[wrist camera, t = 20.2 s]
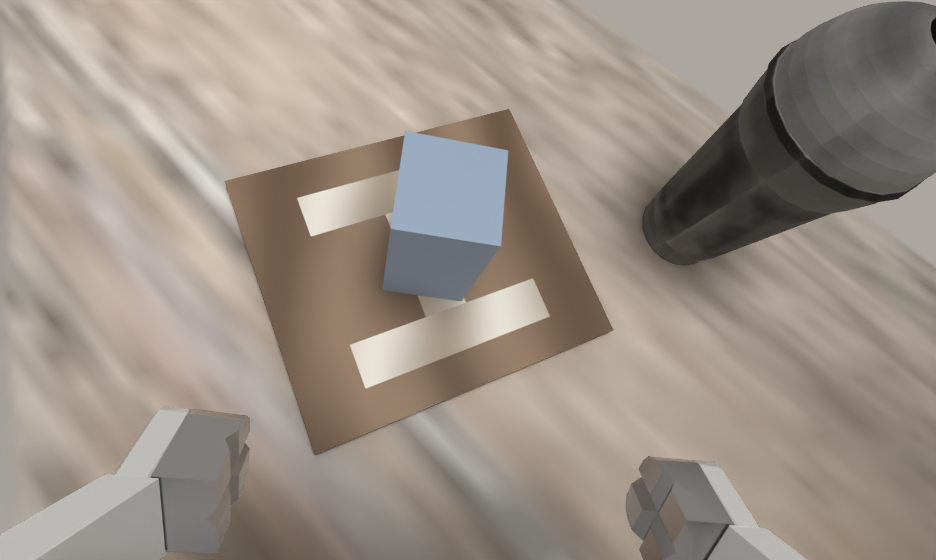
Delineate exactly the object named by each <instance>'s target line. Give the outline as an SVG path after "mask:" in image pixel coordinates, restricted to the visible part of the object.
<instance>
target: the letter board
mask: <svg viewBox="0 0 936 560" xmlns="http://www.w3.org/2000/svg"><path fill="white" fill-rule="evenodd" d="M417 133H419V134H424V135H430V136H435V137H440V138H445V139H451V140H456V141H461V142H466V143H472V144H477V145H482V146H488V147H493V148H498V149H503V150H508V161H507V174H506V187H505V200H504V213H503V226H502V239H501V247H500V248H499V250H498V251H497V253H496V254H495V255H494V257H493V258H492V260H491V261H490V262H489V264H488V265H487V266H486V268H485V269H484V271H483V272H482V273H481V275H480V276H479V278H478V279H477V280H476V282H475V283H474V284H473V286H472V287H471V289H470V290H469V291H468V293H467V294H466V296H465V297H464V298H463V300H462V301H455V300H448V299H441V298H434V297H426V296H419V295H412V294H405V293H398V292H391V291H384V290H382V288H383V281H384V273H385V266H386V258H387V251H388V244H389V236H390V229H391V222H392V216H393V209H394V202H395V195H396V189H397V182H398V175H399V169H400V162H401V155H402V149H403V142H404V136H401V137H397V138H393V139H389V140H385V141H381V142H377V143H373V144H369V145H365V146H361V147H357V148H354V149H350V150H346V151H342V152H338V153H334V154H330V155H326V156H322V157H318V158H314V159H310V160H306V161H302V162H298V163H294V164H290V165H287V166H283V167H279V168H275V169H271V170H267V171H263V172H259V173H255V174H251V175H247V176H243V177H239V178H235V179H231V180H227V181H225V184H226V187H227V190H228V193H229V196H230V199H231V202H232V205H233V208H234V211H235V214H236V217H237V220H238V223H239V226H240V229H241V232H242V235H243V238H244V241H245V244H246V247H247V250H248V253H249V256H250V259H251V262H252V265H253V268H254V272H255V275H256V278H257V281H258V284H259V287H260V290H261V293H262V296H263V299H264V302H265V305H266V308H267V311H268V314H269V317H270V320H271V323H272V326H273V329H274V332H275V335H276V338H277V341H278V344H279V347H280V350H281V353H282V356H283V359H284V362H285V366H286V369H287V372H288V375H289V378H290V381H291V384H292V387H293V390H294V393H295V396H296V399H297V402H298V405H299V408H300V411H301V414H302V417H303V420H304V423H305V426H306V429H307V432H308V435H309V438H310V441H311V444H312V447H313V450H314V453H315V455H316V454H318V453H321V452H323V451H326V450H328V449H330V448H333V447H335V446H338V445H340V444H342V443H345V442H347V441H350V440H352V439H354V438H357V437H359V436H361V435H364V434H366V433H369V432H371V431H373V430H376V429H378V428H381V427H383V426H385V425H388V424H390V423H393V422H395V421H397V420H400V419H402V418H405V417H407V416H409V415H412V414H414V413H417V412H419V411H421V410H424V409H426V408H429V407H431V406H433V405H436V404H438V403H440V402H443V401H445V400H448V399H450V398H452V397H455V396H457V395H460V394H462V393H464V392H467V391H469V390H472V389H474V388H476V387H479V386H481V385H484V384H486V383H488V382H491V381H493V380H496V379H498V378H500V377H503V376H505V375H507V374H510V373H512V372H515V371H517V370H519V369H522V368H524V367H527V366H529V365H531V364H534V363H536V362H539V361H541V360H543V359H546V358H548V357H551V356H553V355H555V354H558V353H560V352H563V351H565V350H567V349H570V348H572V347H575V346H577V345H579V344H582V343H584V342H586V341H589V340H591V339H594V338H596V337H598V336H601V335H603V334H606V333H608V332H610V331H613V328H612V326H611V324H610V322H609V320H608V318H607V316H606V314H605V311H604V309H603V307H602V305H601V303H600V301H599V299H598V297H597V294H596V292H595V290H594V288H593V286H592V284H591V282H590V280H589V277H588V275H587V273H586V271H585V269H584V267H583V265H582V263H581V261H580V258H579V256H578V254H577V252H576V250H575V248H574V246H573V244H572V241H571V239H570V237H569V235H568V233H567V231H566V229H565V227H564V224H563V222H562V220H561V218H560V216H559V214H558V212H557V210H556V208H555V205H554V203H553V201H552V199H551V197H550V195H549V193H548V191H547V188H546V186H545V184H544V182H543V180H542V178H541V176H540V174H539V171H538V169H537V167H536V165H535V163H534V161H533V159H532V157H531V155H530V152H529V150H528V148H527V146H526V144H525V142H524V140H523V138H522V135H521V133H520V131H519V129H518V127H517V125H516V123H515V121H514V118H513V116H512V114H511V112H510V110H509V109H507V110H503V111H499V112H495V113H491V114H487V115H484V116H480V117H476V118H472V119H468V120H464V121H460V122H456V123H452V124H448V125H444V126H440V127H436V128H432V129H428V130H424V131H421V132H417Z"/></svg>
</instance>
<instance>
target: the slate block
mask: <svg viewBox="0 0 936 560" xmlns="http://www.w3.org/2000/svg"><path fill="white" fill-rule="evenodd" d="M507 161H508V150H503V149H498V148H493V147H488V146H482V145H477V144H472V143H466V142H461V141H456V140H451V139H445V138H440V137H435V136H430V135H424V134H419V133H414V132H409V131H405V135H404V142H403V149H402V155H401V162H400V169H399V175H398V182H397V189H396V195H395V202H394V209H393V216H392V222H391V229H390V236H389V244H388V251H387V258H386V266H385V273H384V281H383V288H382V290H384V291H391V292H398V293H405V294H412V295H419V296H426V297H434V298H441V299H448V300H455V301H462V300H463V298H464V297H465V296H466V294H467V293H468V291H469V290H470V289H471V287H472V286H473V284H474V283H475V282H476V280H477V279H478V278H479V276H480V275H481V273H482V272H483V271H484V269H485V268H486V266H487V265H488V264H489V262H490V261H491V260H492V258H493V257H494V255H495V254H496V253H497V251H498V250H499V248H500V247H501V239H502V226H503V213H504V200H505V187H506V174H507Z"/></svg>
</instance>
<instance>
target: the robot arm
mask: <svg viewBox="0 0 936 560" xmlns="http://www.w3.org/2000/svg"><path fill="white" fill-rule="evenodd" d="M249 432H250V418H249V417H248V416H245V415H237V414H229V413H221V412H213V411H205V410H197V409H193V410H192V409H184V408H177V407H169V406H164V407H162V408H161V409H160V410H158V411H157V412H156V414H155V415H154V417H153V418H152V420H151V421H150V423H149V424H148V426H147V427H146V429H145V430H144V431H143V433H142V434H141V436H140V437H139V439H138V440H137V442H136V443H135V445H134V446H133V448H132V449H131V451H130V452H129V454H128V455H127V457H126V458H125V460H124V461H123V463H122V464H121V466H120V467H119V469H118V470H117V471H116V473H115V474H114V475H111V474H104V475H103V476H101V477H99V478H97V479H96V480H94V481H92V482H91V483H89V484H87V485H85V486H84V487H82V488H80V489H78V490H77V491H75V492H73V493H71V494H70V495H68V496H66V497H64V498H63V499H61V500H59V501H57V502H56V503H54V504H52V505H51V506H49V507H47V508H45V509H44V510H42V511H40V512H38V513H37V514H35V515H33V516H31V517H30V518H28V519H26V520H24V521H23V522H21V523H19V524H17V525H16V526H14V527H12V528H11V529H9V530H7V531H5V532H4V533H2V534H0V560H160V559H162V558H163V557H164V556H165V555H166V553H165V552H188V553H218V551H219V548H220V546H221V543H222V541H223V538H224V536H225V533H226V530H227V528H228V525H229V523H230V520H231V505H232V504H233V503H234V502H236V501H237V500H238V499H239V497H240V494H241V491H242V489H243V486H244V482H245V478H246V474H247V470H248V463H249V447H248V446H247V445H246V444H245V442H246V439H247V437H248V434H249ZM639 471H640V473H641V476H642V477H641V478H639V479H638V480H636V481H635V482H633V483H632V484H631V486H630V488H629V491H628V493H627V497H626V512H627V518H628V521H629V524H630V527H631V529H632V531H633V532H634V533H636V534H637V535H638V536H639V537H640V538H641V539H642V543H641V546H640V549H639V550H640V552H641V555H642V557H643V560H806V559H805V558H804V557H803V556H801V555H800V554H799V553H797V552H796V551H795V550H794V549H792V548H791V547H790V546H788V545H787V544H786V543H785V542H783V541H782V540H781V539H779V538H778V537H777V536H775V535H774V534H773V533H772V532H770V531H769V530H768V529H766V528H759V526H758V525H757V523H756V521H755V520H754V518H753V517H752V515H751V514H750V512H749V511H748V509H747V507H746V506H745V504H744V503H743V501H742V500H741V498H740V497H739V495H738V493H737V492H736V490H735V489H734V487H733V486H732V484H731V482H730V481H729V479H728V478H727V476H726V475H725V473H724V472H723V470H722V468H721V467H720V466H719V465H717V464H716V463H715V462H707V461H696V460H692V461H690V460H683V459H672V458H662V457H651V456H648V457H647V458H646V459H644V460H643V462H642V464H641V466H640V467H639Z"/></svg>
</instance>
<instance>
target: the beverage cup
mask: <svg viewBox="0 0 936 560" xmlns="http://www.w3.org/2000/svg"><path fill="white" fill-rule="evenodd" d="M935 172H936V6H934V5H930V4H926V3H922V2H907V1H906V2H886V3H878V4H871V5H867V6H864V7H860V8H856V9H854V10H851V11H849V12H847V13H844V14H842V15H840V16H838V17H835V18H833V19H831V20H829V21H827V22H824V23H822V24H820V25H819V26H817V27H815V28H814V29H812V30H810V31H809V32H807V33H805V34H804V35H803V36H802V37H800V38H799V39H798V40H796V41H794V42H791V43H790V44H788V45H786V46H784V47H783V48H781V50H780V51H779V52H778V53H777V54H776V56H775V57H774V58H773V59H772V60H771V62H770V63H769V65H768V69H767V70H766V71H765V73H764V74H763V75H762V76H761V78H760V79H759V80H758V82H757V83H756V84H755V86H754V87H753V88H752V90H751V91H750V92H749V93H748V95H747V96H746V97H745V99H744V100H743V103H742V105H741V106H740V107H739V108H738V109H737V110H736V111H735V112H734V113H733V114H732V115H731V116H730V117H729V118H728V119H727V120H726V121H725V122H724V123H723V125H722V126H721V127H720V128H719V129H718V130H717V131H716V132H715V133H714V134H713V135H712V136H711V137H710V138H709V139H708V140H707V141H706V142H705V144H704V145H703V146H702V147H701V148H700V149H699V150H698V151H697V152H696V153H695V154H694V155H693V156H692V157H691V158H690V159H689V160H688V161H687V163H686V164H685V165H684V166H683V167H682V168H681V169H680V170H679V171H678V172H677V173H676V174H675V175H674V176H673V177H672V178H671V179H670V180H669V182H668V183H667V184H666V185H665V186H664V187H663V188H662V189H661V191H660V192H659V193H658V194H657V196H656V198H655V199H653V200H652V201H651V203H650V204H649V205H648V206H647V207H646V209H645V212H644V215H643V230H644V233H645V236H646V239H647V241H648V243H649V244H650V246H651V247H652V249H653V250H654V251H655V252H656V253H657V254H658V255H660V256H661V257H662V258H663V259H665V260H667V261H669V262H672V263H674V264H680V265H688V264H694V263H697V262H698V261H701V260H705V259H709V258H714V257H717V256H719V255H722V254H725V253H727V252H730V251H733V250H735V249H738V248H741V247H743V246H746V245H749V244H751V243H754V242H757V241H759V240H762V239H765V238H767V237H770V236H773V235H775V234H778V233H781V232H783V231H786V230H789V229H791V228H794V227H797V226H799V225H802V224H805V223H807V222H810V221H813V220H815V219H818V218H821V217H823V216H826V215H829V214H831V213H836V212H842V211H848V210H852V209H856V208H860V207H864V206H868V205H871V204H875V203H877V202H881V201H888V200H894V199H898V198H900V197H901V196H903V195H904V194H906V193H907V192H909V191H910V190H912V189H913V188H915V187H916V186H918V185H919V184H920V183H921V182H923V181H924V180H925V179H927V178H928V177H930V176H931V175H932V174H934V173H935Z"/></svg>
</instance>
